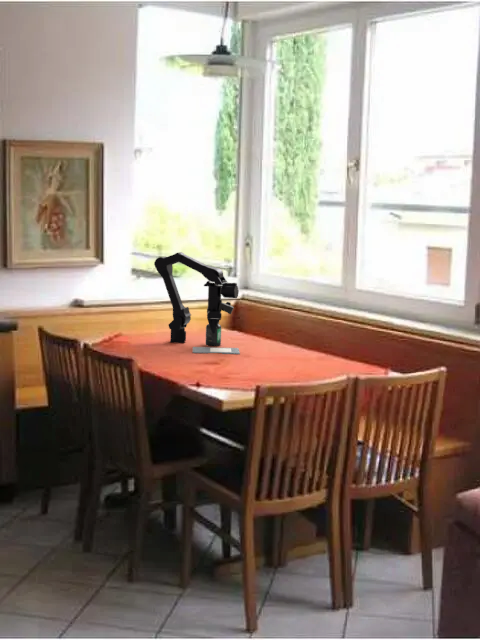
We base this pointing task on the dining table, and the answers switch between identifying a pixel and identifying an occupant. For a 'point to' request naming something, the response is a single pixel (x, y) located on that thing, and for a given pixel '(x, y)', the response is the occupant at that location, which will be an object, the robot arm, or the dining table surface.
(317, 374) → the dining table surface
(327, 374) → the dining table surface
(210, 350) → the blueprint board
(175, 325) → the robot arm
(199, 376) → the dining table surface
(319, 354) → the dining table surface
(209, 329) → the supplement bottle
